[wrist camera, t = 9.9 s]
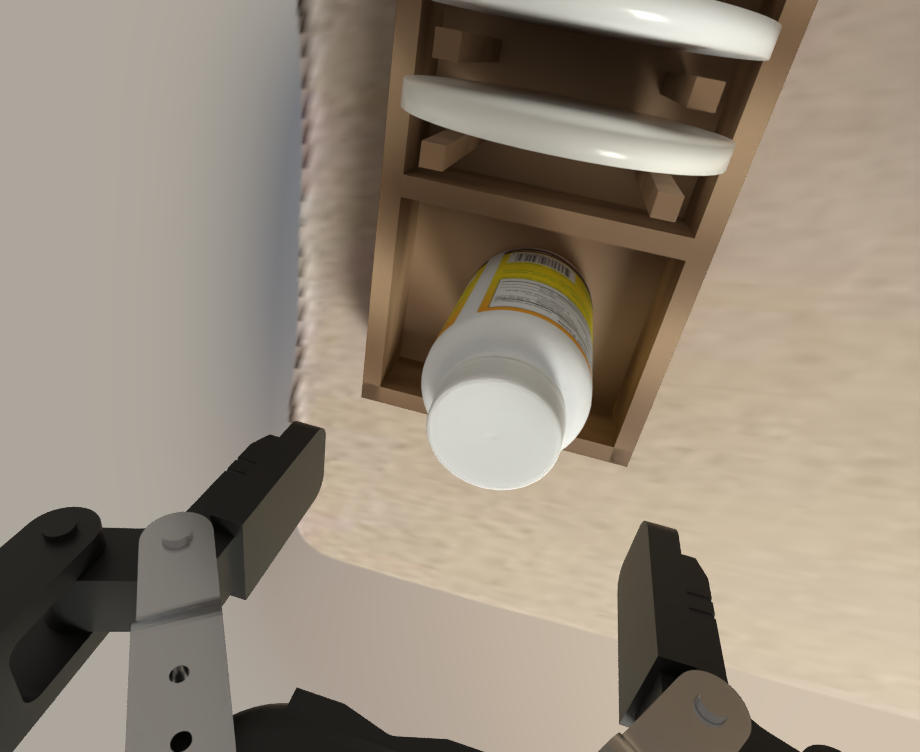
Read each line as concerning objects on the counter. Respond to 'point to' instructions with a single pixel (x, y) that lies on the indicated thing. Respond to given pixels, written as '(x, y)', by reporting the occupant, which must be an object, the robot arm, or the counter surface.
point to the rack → (559, 197)
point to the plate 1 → (648, 23)
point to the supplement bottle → (511, 370)
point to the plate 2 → (566, 126)
